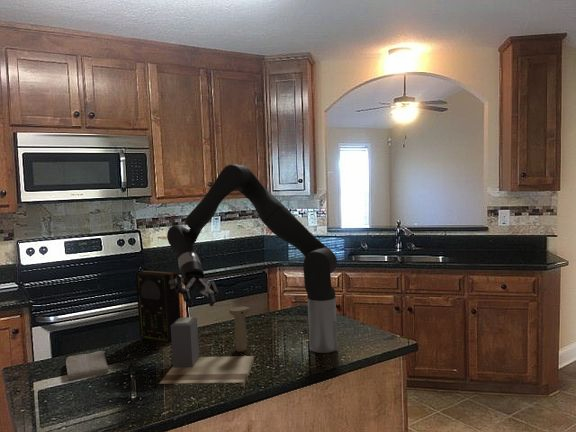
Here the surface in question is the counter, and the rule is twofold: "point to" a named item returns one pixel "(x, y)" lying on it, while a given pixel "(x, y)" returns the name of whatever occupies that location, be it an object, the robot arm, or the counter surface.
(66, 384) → the counter surface
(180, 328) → the grey tall block
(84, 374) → the washcloth
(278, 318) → the counter surface
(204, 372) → the subfloor panel
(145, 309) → the voltmeter
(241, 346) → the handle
